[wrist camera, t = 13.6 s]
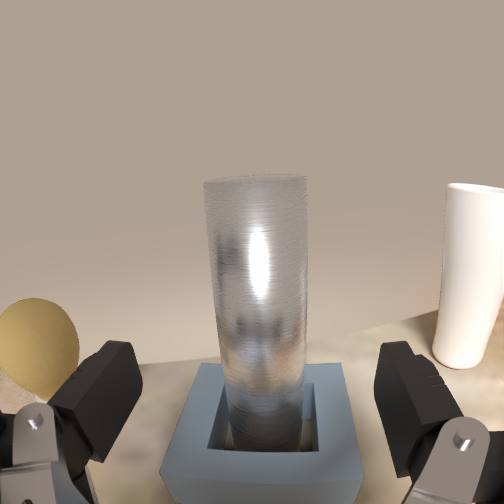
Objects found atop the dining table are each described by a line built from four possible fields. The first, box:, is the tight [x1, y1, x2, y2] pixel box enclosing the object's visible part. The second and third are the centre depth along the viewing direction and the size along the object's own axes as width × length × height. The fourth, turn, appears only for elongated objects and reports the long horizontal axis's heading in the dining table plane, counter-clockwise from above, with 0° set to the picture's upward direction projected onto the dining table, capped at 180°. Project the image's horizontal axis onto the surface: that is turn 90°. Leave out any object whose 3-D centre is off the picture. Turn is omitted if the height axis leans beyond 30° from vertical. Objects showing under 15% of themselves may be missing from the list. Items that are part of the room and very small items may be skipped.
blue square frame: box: [159, 363, 364, 504], centre depth 16 cm, size 10×10×4 cm
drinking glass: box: [432, 183, 504, 369], centre depth 21 cm, size 7×7×15 cm
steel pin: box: [203, 174, 308, 452], centre depth 14 cm, size 4×4×16 cm
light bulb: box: [0, 298, 79, 404], centre depth 17 cm, size 6×6×10 cm
